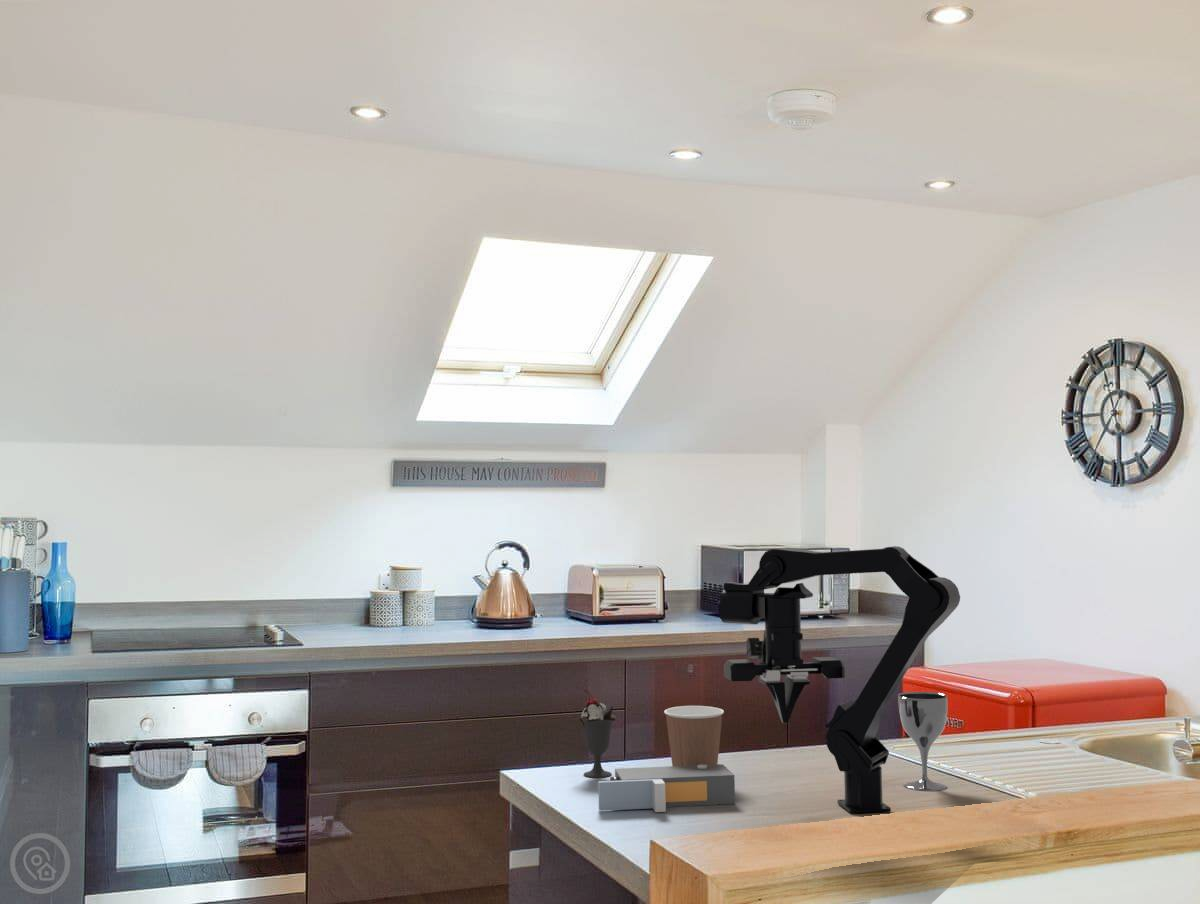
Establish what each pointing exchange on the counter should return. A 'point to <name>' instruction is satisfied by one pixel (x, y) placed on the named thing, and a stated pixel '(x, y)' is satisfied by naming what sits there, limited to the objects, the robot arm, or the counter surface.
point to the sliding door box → (688, 783)
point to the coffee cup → (694, 734)
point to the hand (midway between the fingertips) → (784, 722)
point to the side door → (632, 794)
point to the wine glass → (923, 728)
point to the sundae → (596, 733)
